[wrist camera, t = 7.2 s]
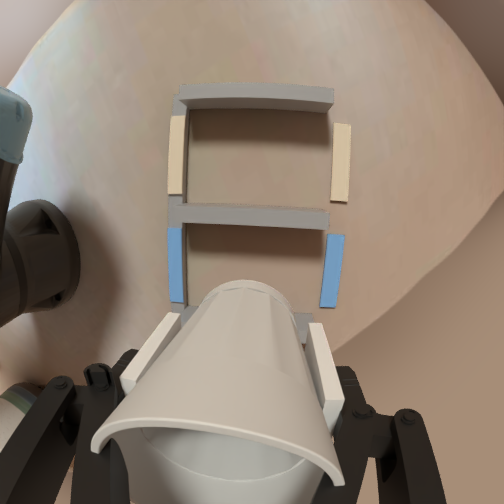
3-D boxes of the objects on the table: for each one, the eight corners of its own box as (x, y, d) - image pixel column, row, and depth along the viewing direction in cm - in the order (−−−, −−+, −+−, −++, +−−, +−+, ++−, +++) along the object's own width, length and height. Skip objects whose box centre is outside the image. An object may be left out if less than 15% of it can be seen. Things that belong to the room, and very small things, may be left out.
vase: (91, 446, 42) (44, 525, 19) (36, 421, 43) (-13, 482, 20) (64, 388, 38) (-9, 474, 15) (9, 364, 39) (-58, 425, 16)
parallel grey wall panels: (175, 315, 32) (164, 331, 29) (177, 97, 27) (164, 86, 23) (331, 326, 31) (338, 343, 28) (349, 103, 26) (360, 92, 22)
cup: (321, 359, 18) (354, 520, 6) (212, 385, 19) (168, 530, 8) (288, 248, 16) (318, 391, 5) (165, 287, 18) (46, 415, 6)
